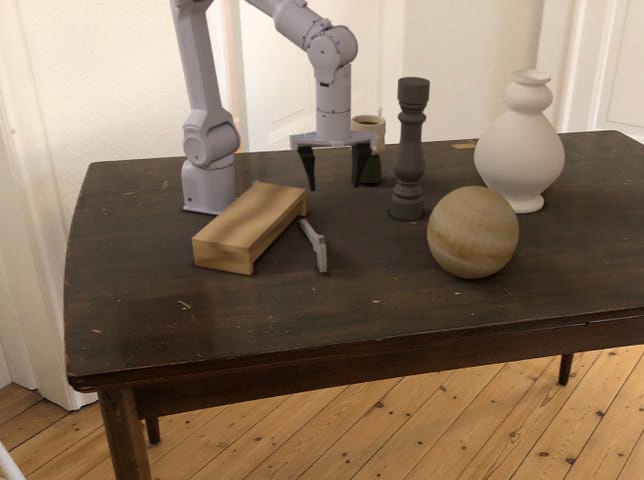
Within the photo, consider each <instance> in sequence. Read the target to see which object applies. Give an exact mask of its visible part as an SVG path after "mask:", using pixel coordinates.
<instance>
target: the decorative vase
mask: <svg viewBox="0 0 644 480" xmlns="http://www.w3.org/2000/svg"><path fill="white" fill-rule="evenodd" d="M510 79H511V80H513V82H511V83H509V84H508V85H507V86H506V87H505V88H504V90H503V91H502V100H503V102H504V103H505V105H506V106H507V107H508V108H509V109H507V110H506V111H505V112H504V113H502V114H501V115H500V116H499V117H497V118H496V119H495V120H494V121H493V122H491V124H490V125H489V126H488V127H487V128H486V129H485V130H484V131H483V132H482V134H481V135H480V137H479V139H478V140H477V142H476V144H475V148H474V152H473V161H474V165H475V169H476V170H477V172H478V174H479V175H480V178H481V179H482V181H483V182H484V183H485V185H486V186H487V188H489V189H492V190H494V191H496V192H497V193H499V194H501V195H502V196H503V197H504V198H505V199H506V200H507V201H508V202H509V203H510V205H511V206H512V208H513V210H514V211H515V214H527V213H534V212H536V211H539V210H541V209H542V208H543V206H544V203H545V199H544V198H543V196H542V195H541V194H542V193H543V192H544V191H545V190H546V189H548V188H549V187H550V186H551V185H552V184H553V183H554V182H555V181H556V180H557V179H558V178H559V177H560V175H561V174H562V172H563V169H564V166H565V160H566V159H565V153H566V152H565V149H564V146H563V142H562V140H561V137H560V136H559V134H558V132H557V131H556V129H555V127H554V126H553V125H552V123H551V121H550V120H549V119H548V118H547V116H546V115H545V114H544V113H543V112H544V111H546V109H548V108H549V107H550V106H551V105H552V103H553V101H554V94H553V92H552V90H551V89H550V88H549V87H548V85H546V84H548V83H550V82H551V81H552V75H551V74H550V73H548V72H547V71H543V70H538V69H529V68H520V69H513V70H512V71H511V72H510Z"/></svg>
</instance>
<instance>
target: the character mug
mask: <svg viewBox="0 0 644 480" xmlns="http://www.w3.org/2000/svg"><path fill="white" fill-rule="evenodd" d="M386 123H387V121H386V119H385V118H384V117H382V116H379V115H374V114H360V115H355V116H352V117H351V130H356V131H374V132H375V133H376V134H377V146H370V147H371V149H372V154H371V157H370V158H369V160H368V161H367V163H366V165H365V167H364V170H363V172H362V175H361V179H360V183H359V184H369V185H370V184H379V183H380V182H382V181H383V175H382V174H383V173H382V163H381V162H382V161H381V156H380V154H381V153H382V152H384V151H385V149H386V140H385V138H386V137H385V135H386V132H387V129H386V128H387V124H386ZM350 150H351V151H352V147H351V146H350Z"/></svg>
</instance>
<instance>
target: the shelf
mask: <svg viewBox="0 0 644 480" xmlns="http://www.w3.org/2000/svg"><path fill="white" fill-rule="evenodd" d="M237 198H238V199H237V200H235V201H234V202H233V203H232V204H231V205H230V206H229V207H227V208H226V209H225V210H224V211H223V212H222V213H220V214H219V215H216V217H215V218H213V219H212V220H211V221H210V222H208V223H207V225H205V226H204V227H203V228H202V229H201V230H199V231H198V232H197V233H196V234H195V235H194V236H193V237H191V244H192V252H193V261H194V266H196V267H201V268H208V269H213V270H219V271H224V272H230V273H235V274H241V275H247V276H251V275H252V274H254V262H255V261H257V259H258V258H259V257H260V256H261V255H262V254H263V253H264V252H265V251H266V250H267V249H268V248H269V246H270V245H272V244H273V242H274V241H275V240H276V239H277V238H278V237H279V236H280V235H281V234H282V233H283V232H284V230H285V229H287V227H288V226H289V225H290V224H291V223H292V222H293V221H294V220H295V219H296V218H297V217H298V216H301V217H305V216H306V215H308V209H307V208H308V207H307V206H308V205H307V203H308V202H307V189H306V188H300V187H293V186H288V185H280V184H274V183H267V182H261V181H256V182H255V183H254V184H253V185H251V186H250V187H249V188H248V189H246V191H245V192H243V193H242V194H241V195H240V196H239V197H237Z"/></svg>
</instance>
